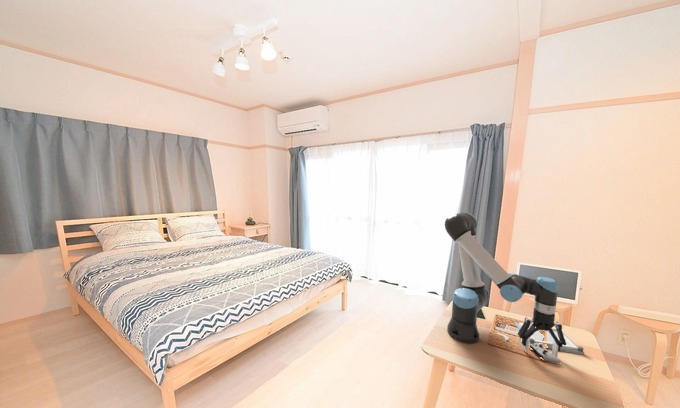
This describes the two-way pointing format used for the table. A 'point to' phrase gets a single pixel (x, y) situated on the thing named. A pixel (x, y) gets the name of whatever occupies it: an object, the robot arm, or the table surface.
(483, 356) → the table surface
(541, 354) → the gaming controller
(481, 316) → the smartphone
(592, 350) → the table surface
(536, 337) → the chassis
